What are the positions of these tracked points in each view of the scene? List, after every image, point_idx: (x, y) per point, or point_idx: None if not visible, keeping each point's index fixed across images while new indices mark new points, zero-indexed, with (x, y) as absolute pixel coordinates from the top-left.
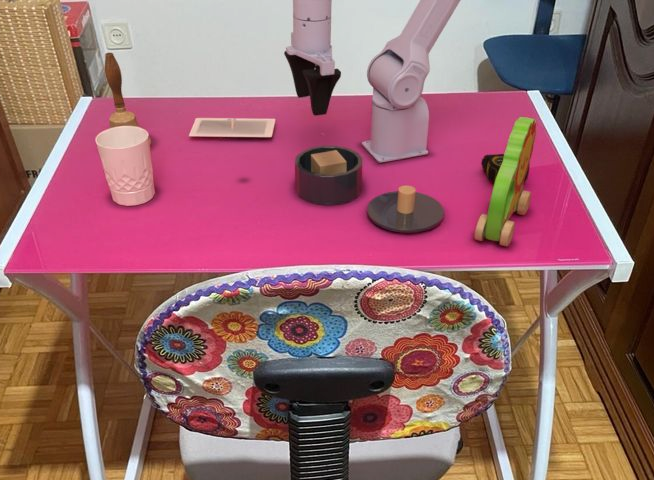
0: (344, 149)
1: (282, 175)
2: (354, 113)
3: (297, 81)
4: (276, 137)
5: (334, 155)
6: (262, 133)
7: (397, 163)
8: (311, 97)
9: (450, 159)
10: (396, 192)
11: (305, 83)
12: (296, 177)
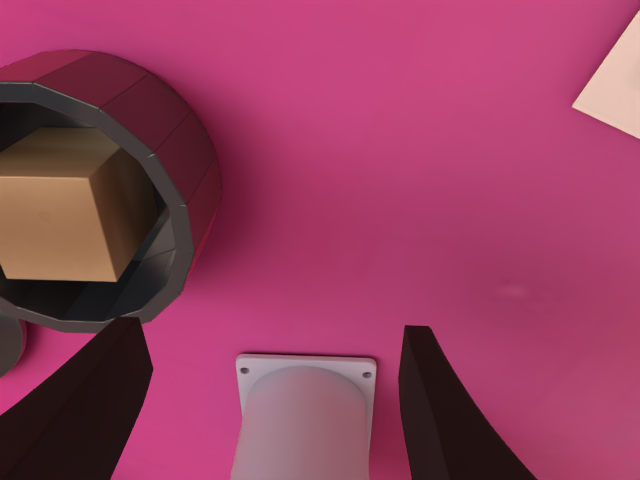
0: (143, 307)
1: (252, 43)
2: (592, 411)
3: (425, 406)
4: (598, 133)
5: (65, 259)
6: (634, 77)
7: (228, 387)
8: (37, 395)
9: (215, 474)
10: (13, 328)
11: (412, 427)
12: (45, 65)
